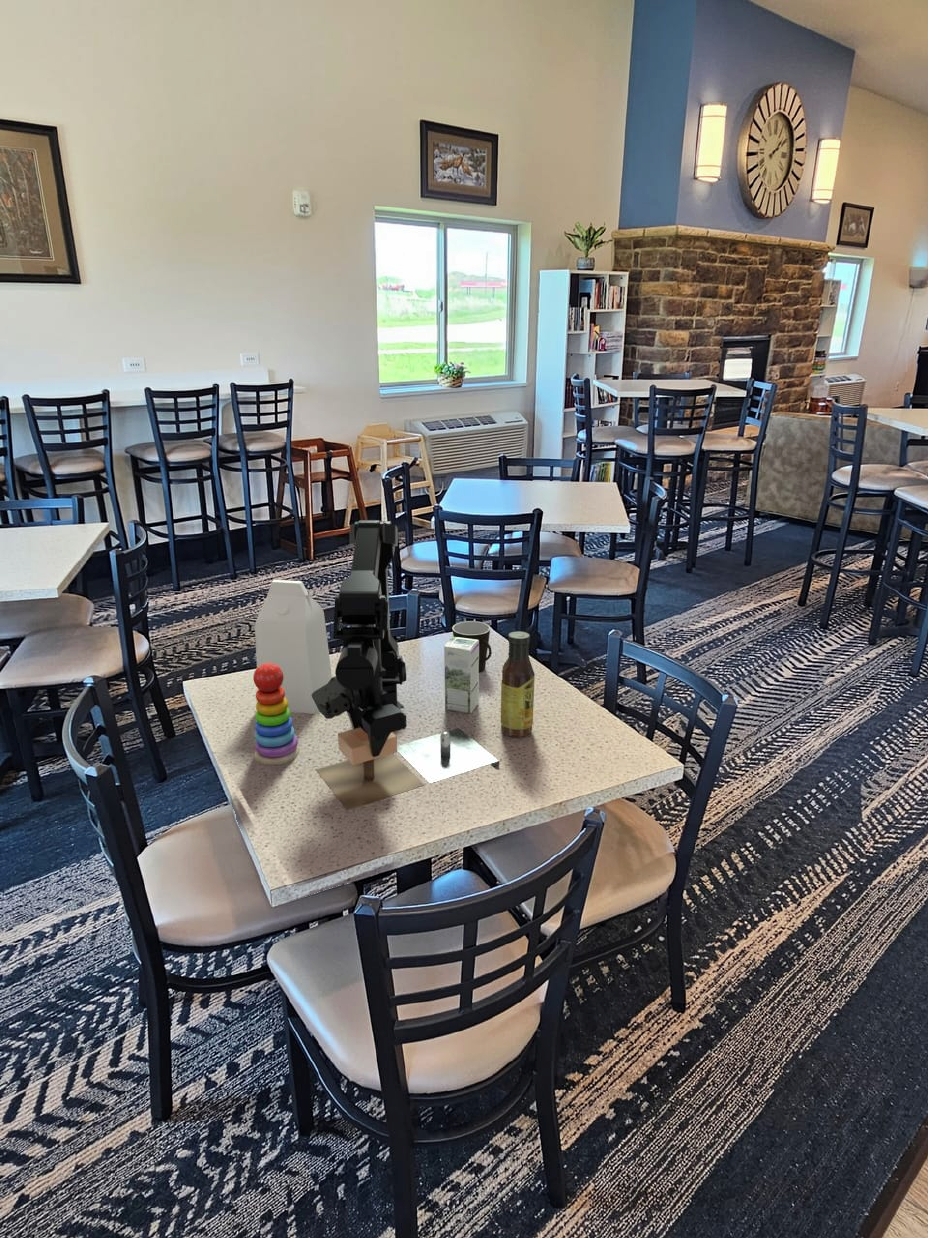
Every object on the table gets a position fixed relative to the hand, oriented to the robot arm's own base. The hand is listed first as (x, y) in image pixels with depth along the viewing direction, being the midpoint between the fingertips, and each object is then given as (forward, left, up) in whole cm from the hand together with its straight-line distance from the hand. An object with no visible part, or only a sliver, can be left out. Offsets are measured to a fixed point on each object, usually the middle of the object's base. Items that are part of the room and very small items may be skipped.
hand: (367, 747), depth 127 cm
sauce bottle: (-2, +32, -7) cm, 33 cm away
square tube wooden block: (0, 0, 0) cm, 0 cm away
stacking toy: (-16, -11, -7) cm, 21 cm away
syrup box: (-16, +28, -7) cm, 33 cm away
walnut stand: (0, 0, -7) cm, 7 cm away
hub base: (0, +15, -7) cm, 16 cm away
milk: (-37, 0, -7) cm, 38 cm away
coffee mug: (-30, +39, -7) cm, 50 cm away
